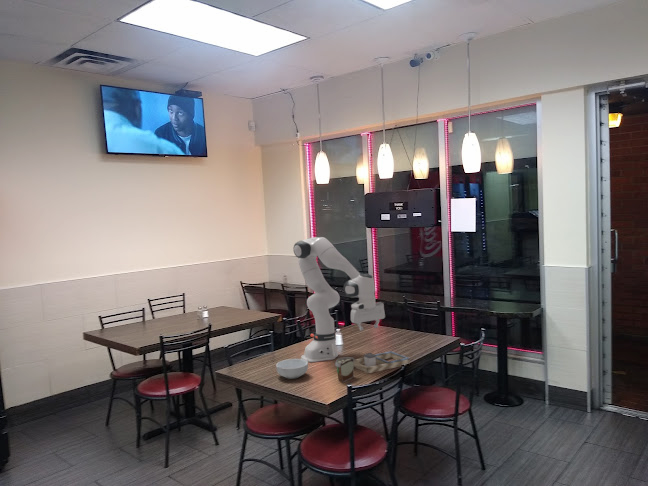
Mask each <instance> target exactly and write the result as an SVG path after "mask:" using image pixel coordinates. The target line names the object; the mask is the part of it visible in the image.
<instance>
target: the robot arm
mask: <svg viewBox="0 0 648 486" xmlns="http://www.w3.org/2000/svg"><path fill="white" fill-rule="evenodd" d="M293 253H294V255H295V257H296V258H298V265H299V269H300V272H301V275H302V277H303V278H304V282H305V284H306V286H307V287H308V288H309V289H311V290H313V292H314V293H313V294H311V295H310V296H309V297H308V298H307V299H306V306H307V309H309V311H311V313H312V315H313V317H314V322H315V334H314V333H311V334H310V337H311V338H313V339H312V340H311V341H310V343H308V344H307V345H306V346H305V348H304V352H303V354H302V355H300V359H303V360H306V361H307V362H308V363H315V362H322V361H323V362H324V361H330V360H336V358H337V357H338V356H339V353H338V350H337V345H336V331H335V319H334V318H333V317H332V316H331V315H330V309H332V308H334V307H335V306H337V305H338V304H339V303H340V299H341V297H340V294H339V293H338V291H337V290H335V289H334V288H333V287H331V286H330V284H329V283H328V281H327V280H326V279H325V277H324V275H323V273H322V270H321V269H320V266H319V264H318V261H317V257H318V259H319V260H320V262H321V263H322V264H323V265H324V266H325V267H327V269H328V268H329V269H333V270H339V271H342V272H344V273H345V274H346V275H347V276H348V277H349V278H350V279H349V280H347V281H345V283H343V292H344V294H345V296H347V297H348V298H355V297H356V298H357V297H358V300H357V301H356V302H354V303H352V304H350V308H351V310H350V321H351V323H352V324H356V325H357V327H358V329H359V331H364V327H363V326H362V323H366V322H373V321H375V323H374V324H373V328H374V329H377V328H379V323H380V320H383V319H385V318H386V314H385V305H384V303H383V302H382V301H378V302H376V296H375V291H376V288H375V286H376V285H375V279H374V277H373V276H372V275H371V274H369V273H361V271H359V270H358V268H357V267H356V266H355V265H353V263H352V262H350V260H349V259H348V258H346V257H345V256H344V255H342V253H340V251H338V250H337V248H336V247H335V246H334V245H333V244H332V242H331V241H329V239H327V238H326V237H323V236H314V237H309V238H305V239H303V240H299V241H297V242H295V243H294V245H293Z"/></svg>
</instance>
